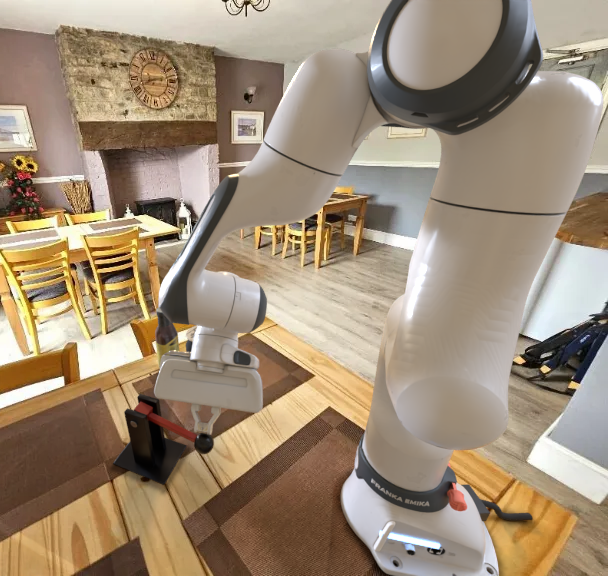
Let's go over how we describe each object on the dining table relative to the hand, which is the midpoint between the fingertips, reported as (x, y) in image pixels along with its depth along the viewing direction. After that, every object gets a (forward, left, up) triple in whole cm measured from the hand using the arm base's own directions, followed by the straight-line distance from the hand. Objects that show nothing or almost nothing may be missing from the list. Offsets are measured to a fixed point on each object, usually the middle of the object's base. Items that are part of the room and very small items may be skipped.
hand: (202, 433), depth 55 cm
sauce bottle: (+24, -26, -13) cm, 37 cm away
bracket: (+13, 0, -13) cm, 18 cm away
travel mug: (+11, -22, -13) cm, 27 cm away
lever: (+6, 0, -3) cm, 7 cm away
